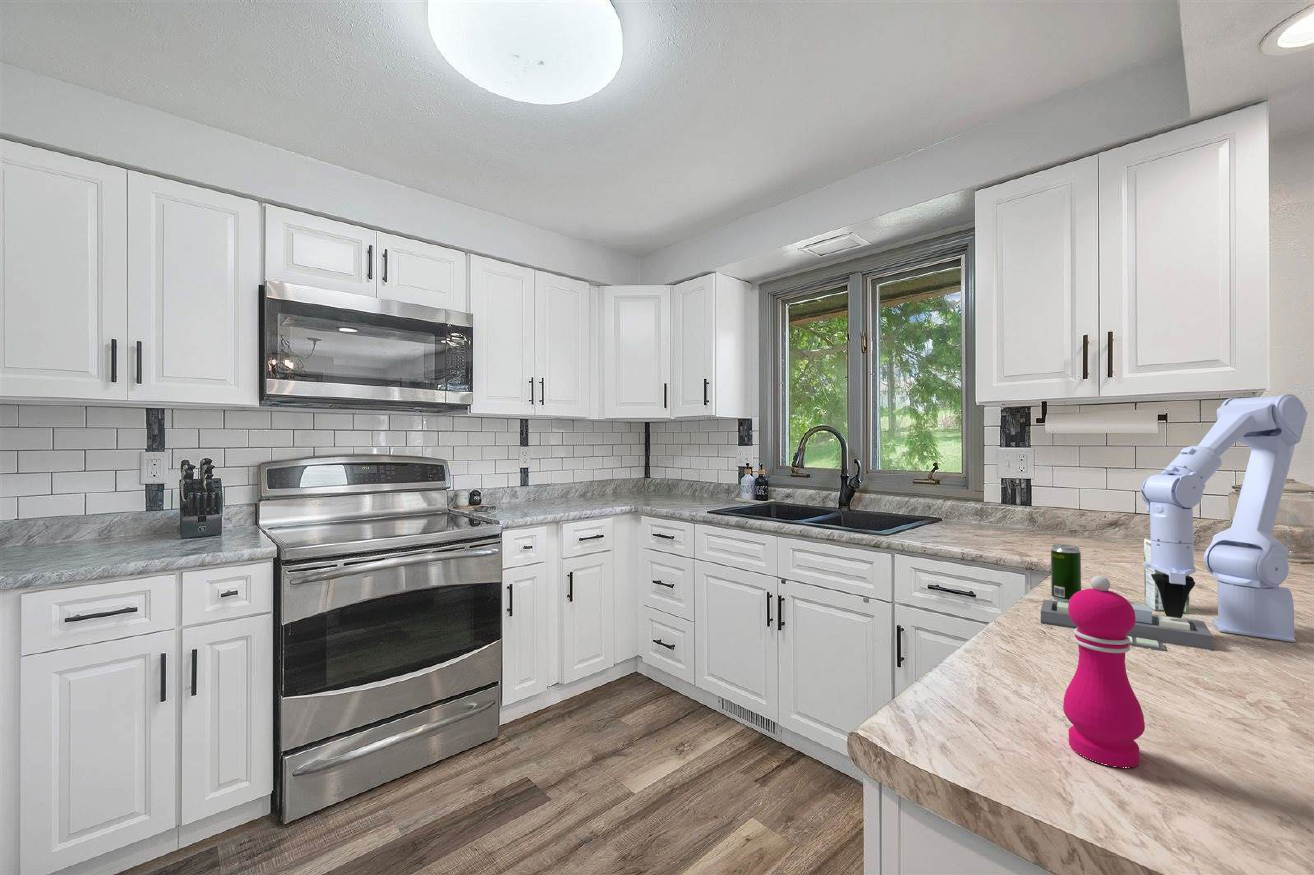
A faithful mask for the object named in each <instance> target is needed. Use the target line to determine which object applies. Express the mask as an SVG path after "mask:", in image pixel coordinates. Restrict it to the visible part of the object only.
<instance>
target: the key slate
mask: <svg viewBox="0 0 1314 875" xmlns="http://www.w3.org/2000/svg"><path fill="white" fill-rule="evenodd" d="M1130 604H1131V605H1132V607H1133V609H1134V611H1135V617H1136V620H1135V621H1137V622H1144V623H1151V624H1152V614H1153V611H1152V608H1151V607H1150V606H1148V605H1144V604H1135V603H1130Z"/></svg>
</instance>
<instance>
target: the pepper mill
mask: <svg viewBox="0 0 1314 875" xmlns="http://www.w3.org/2000/svg"><path fill="white" fill-rule="evenodd" d="M1090 586H1091V588H1086V589H1084V588H1083V589H1081V591H1078V592H1076V593H1075V594H1074V595H1073V596H1072V597H1071V598H1070V601H1069V604H1068V614H1069V617H1070V618H1071V620H1072V621H1073V622H1074V623H1075V624H1076V626H1077V627H1078V628H1073V633H1074V637H1073V641H1074V642H1075V643H1076V644H1077V646H1078V663H1077V667H1076V671H1075V673H1074V675H1073V677H1072V678H1071V681H1070V683H1068V686H1067V688H1066V689H1065V693H1064V696H1063V703H1062V704H1063V705H1062V711H1063V713H1064V715H1065V717H1066V718H1067V720H1068V721H1069V722H1070V723H1071V724H1072V726H1070V727H1069V728H1068V745H1069V747H1070V746H1071V747H1070V749H1071V748H1072V749H1073V750H1075V751H1076V752H1077V753H1078V754H1081V755H1082V756H1084V757H1086V758H1088V759H1091V760H1093V761H1096V762H1099V763H1103V764H1107V765H1109V766H1116V767H1122V768H1121V769H1129V768H1128V767H1133V768H1135V767H1134V766H1136V765H1137V766H1138V765H1140V762H1141V760H1140V758H1141V757H1140V747H1139V744H1138V742H1136V740H1137V739H1138V738H1140V737H1141V736H1142V735H1143V734H1144V732H1145V729H1146V725H1145V716H1144V712H1143V710H1142V706H1141V704H1140V702H1139V700H1138V698H1137V696H1136V694H1135V692H1134V691H1133V688H1132V685H1131V684H1130V680H1129V676H1128V673H1127V669H1126V653H1128V652H1130V650H1131V647H1130V646H1131V645H1129V642H1130V639H1129V637H1128V636H1126V634H1127V633H1128V632H1129V631H1130V630H1132V628H1133V627H1134V625H1135V620H1136V617H1135V611H1134V609H1133V607H1132V605H1131V604H1132V603H1130V602H1129V600H1128V599H1126V598H1125V597H1124V596H1122V595H1121V594H1119V593H1117V592H1114V591H1111V590H1109V589H1110V588H1111V582H1110V581H1109V579H1108V578H1107V577H1105V576H1102V575H1096V576H1093V577H1092V578H1091V579H1090ZM1072 749H1071V750H1072ZM1073 750H1072V751H1073ZM1076 752H1075V753H1076ZM1077 753H1076V754H1077ZM1078 754H1077V755H1078ZM1082 756H1081V757H1082ZM1084 757H1083V758H1084ZM1086 758H1085V759H1086ZM1088 759H1087V760H1088ZM1109 766H1108V767H1109ZM1137 766H1136V767H1137ZM1123 767H1124V768H1123ZM1125 767H1127V768H1125Z"/></svg>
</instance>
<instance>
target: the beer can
mask: <svg viewBox="0 0 1314 875" xmlns="http://www.w3.org/2000/svg"><path fill="white" fill-rule="evenodd" d="M1081 558H1082V552H1081V550H1080V547H1079V546H1077V545H1070V544H1064V543H1063V544H1061V543H1060V544H1058V543H1057V544H1055V543H1054V544H1051V548H1050V565H1051V566H1050V569H1051V570H1050V571H1051V572H1050V573H1051V574H1050V575H1051V576H1050V581H1051V596H1052V599H1053V600H1054V601H1059V602H1066V603H1069V601H1070V598H1071V597H1072V596H1073V595H1074V594H1075V593H1076V592H1078V591H1081V590H1082V561H1081V560H1082V559H1081Z"/></svg>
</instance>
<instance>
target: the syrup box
mask: <svg viewBox="0 0 1314 875" xmlns="http://www.w3.org/2000/svg"><path fill="white" fill-rule="evenodd" d="M1143 559H1144V560H1143V562H1151V538H1144V540H1143ZM1143 568H1144V569H1143V570H1144V575H1143V576H1144V604H1145V606H1150V608H1151V610H1154V611H1159V612H1160V611H1161V612H1164V609H1163V605H1162V601H1161V596H1160V593H1159V590H1158V587H1157V585H1156V583H1155V581H1154V580H1153V578H1152V576H1151V574H1161V575H1163V573H1162V572H1159V571H1157V570H1154V569H1152V568H1147V567H1143ZM1188 576H1190V575H1188ZM1183 614H1190V594H1189V595H1188V597H1187V600H1186V604H1185V608H1184V612H1183Z"/></svg>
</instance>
